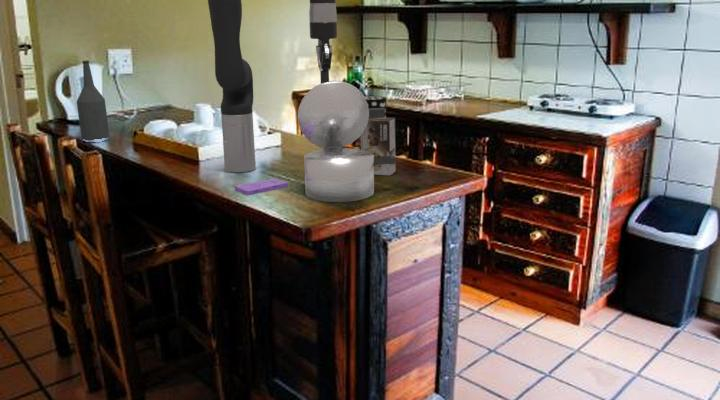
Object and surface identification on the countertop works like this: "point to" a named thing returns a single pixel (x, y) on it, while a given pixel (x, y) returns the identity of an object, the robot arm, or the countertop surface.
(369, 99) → the white-spotted black cylinder
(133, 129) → the countertop surface
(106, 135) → the bottle
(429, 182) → the countertop surface
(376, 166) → the coffee box
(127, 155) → the countertop surface
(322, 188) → the pot
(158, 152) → the countertop surface
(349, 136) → the lid
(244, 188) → the sponges
